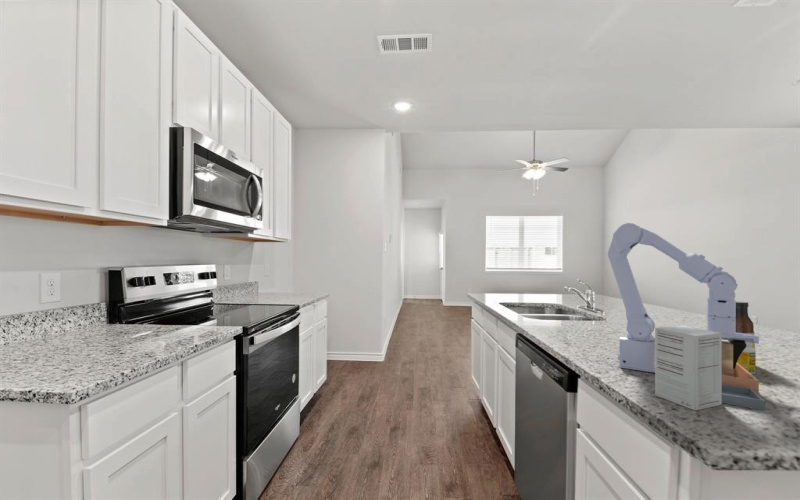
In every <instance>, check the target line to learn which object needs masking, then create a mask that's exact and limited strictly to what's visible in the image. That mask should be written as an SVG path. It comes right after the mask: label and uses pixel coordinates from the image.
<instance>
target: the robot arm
mask: <svg viewBox="0 0 800 500" xmlns="http://www.w3.org/2000/svg"><path fill="white" fill-rule="evenodd" d="M638 244H640V245H644V246H651V247H652V248H655V249H656V250H657V251H660V252H661V253H662V254H664V255H666V256H668V257H670V259H672V260H674V261H676V262H677V263H678V269H679V270H681V271H683V272H684V273H685V274H687V275H689V276H690V277H692V278H693V279H695V280H696V281H698V282H699V283H700V284H702V283H703V284H706V286H707V287H708V298H707V316H706V317H707V323H706V324H707V326H706V327H707V328H706V330H709V331H714V332H719V333H722V341H728V340H729V342H730V343H732V344H733V369H735V367H736V363H737V360H738V358H739V356H740V355H741V353H742V352H743V350H744V349H745V348H746V343H745V342H752V343H755V344H757V345H759V344H760V336H759V335H757V334H754V335H752V334H743V333H736V301H737V300H736V293H735V291H736V289H738V283H737V280H736V279H735V277H734V276H733V275H731V274H730V273H729V272H727V271H723V270H724V268H723V267H722V266H720V265H719V266H717V265H715V264H713V263H712V262H710V261H708V260H707V259H705V258H706V256H705V255H703V254H697V253H696V252H695V253H694V252H693V253H692V252H691V253H685V251H683V250H682V249H680V248H678V247H677V246H676V245H674V244H672V243H671V242H669V241H668V240H667V239H664V238H663V237H662V236H660V235H659V234H657V233H655V232H652V231H650V230H647V229H645V228H643V227H641V226H639V225H637V224H635V223H630V222H626V223H623V224H621V225H620V226H619V227H618V228H617V229H616V230H615V231H614V233H613V234H612V240H611V242H610V246H609V248H608V251H607V256H608V260H609V262H610V266H611V268H612V272H613V275H614V277H615V280H616V284H617V288H618V290H619V293H620V296H621V299H622V302H623V304H624V309H625V316H626V320H627V323H626V331H627V334H626V336H618V338H619V339H618V342H619V343H618V346H619V347H618V354H617V360H618V362H619V363H618V364H619V368H621V369H626V370H627V369H628V370H634V371H642V372H649V373H654V374H655V336H653V334H652V333H653V331H655V328H656V325H655V324H656V323H655V322H654V320H653V319H652V318H651V317H650V316H649V314H648V312H647V309H646V307H645V305H644V304H643V301H642V298H641V295H640V292H639V289H638V286H637V283H636V280H635V277H634V275H633V271H632V269H631V265H630V262H629V260H628V255H629V254H630V253H631V251H632V250H633V248H634V247H636V246H637V245H638Z"/></svg>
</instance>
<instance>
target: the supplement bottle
mask: <svg viewBox="0 0 800 500" xmlns="http://www.w3.org/2000/svg"><path fill="white" fill-rule="evenodd" d="M745 343H746V348H745V349H744V350H743V352H742V353H741V355H740V356H739V358H738V360H737V363H739V364H740V365H741V366H742V367H743V368H744V369H746V370H747V371H748V372H749V373H750V374H752V375H755V374H756V370H757V369H756V367H757V365H756V364H757V363H756V360H757V359H756V357H757V356H756V353H757V352H756V348H755V349H754V348H752V347H751V346H752V345H753V343H752V342H745Z"/></svg>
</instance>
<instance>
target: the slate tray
mask: <svg viewBox="0 0 800 500" xmlns="http://www.w3.org/2000/svg"><path fill="white" fill-rule="evenodd" d="M722 404H726V405H732V406H737V407H738V406H739V407H743V408H745V407H746V408H749V409H755V410H763V411H765V410H766V407H765V406H766V401H765V399H763V398H762V396H760V395H758V394H757V393H756V392H755V391H754V390H753V389H752V388H746V387H739V386H733V385H726V384H722Z"/></svg>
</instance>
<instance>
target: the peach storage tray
mask: <svg viewBox="0 0 800 500" xmlns="http://www.w3.org/2000/svg"><path fill="white" fill-rule="evenodd" d="M722 384H726V385H733V386H739V387H746V388H752V389H753V390H754V391H755V392H756V393H757V394H758V395H759V394H760V392H759V391H760V389H759V388H760V387H759V385H760V380H759V379H757V378H756V377H755V375H754V374H750V373H749V372H748V371H747V370H746V369H744V368H743V367H742V366H741V365H740V364H739V363H736V367H735V369H733V376H727V375H722ZM759 396H760V395H759Z"/></svg>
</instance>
